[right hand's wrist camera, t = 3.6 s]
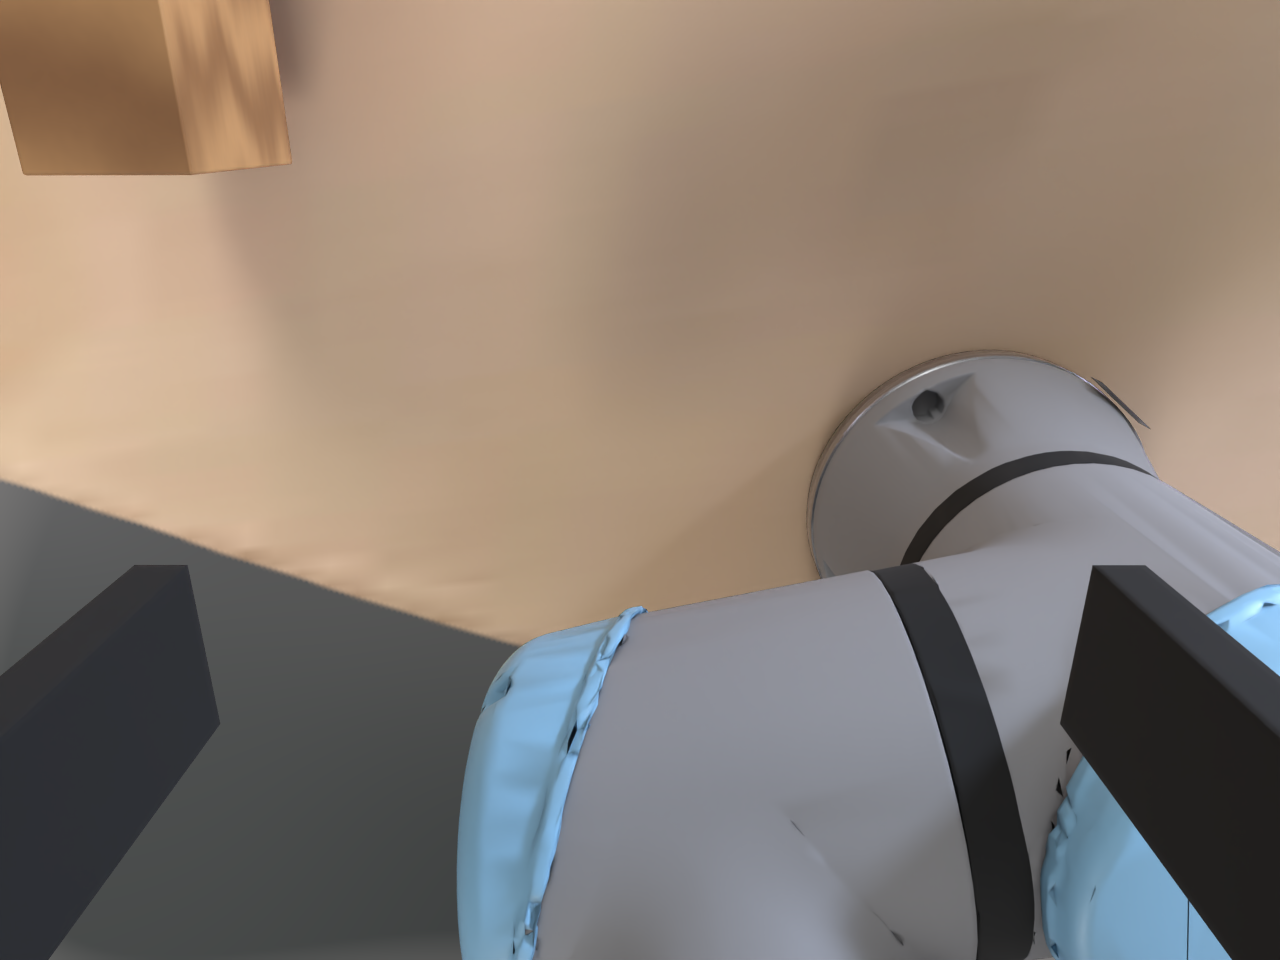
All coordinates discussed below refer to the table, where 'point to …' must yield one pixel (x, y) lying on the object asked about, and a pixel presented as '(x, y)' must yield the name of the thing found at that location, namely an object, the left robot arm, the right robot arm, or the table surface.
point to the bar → (142, 86)
